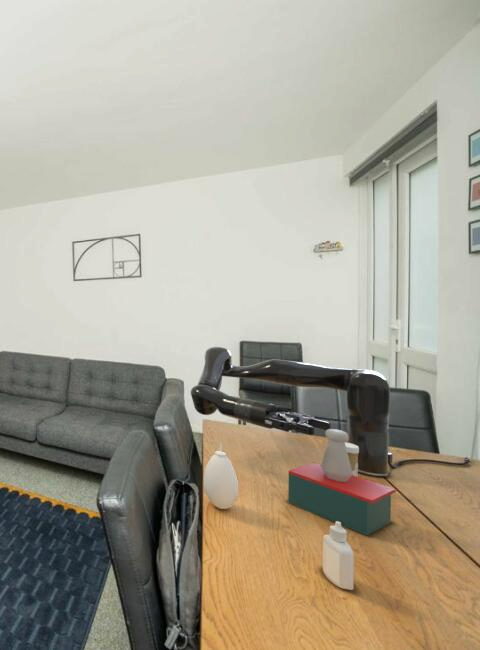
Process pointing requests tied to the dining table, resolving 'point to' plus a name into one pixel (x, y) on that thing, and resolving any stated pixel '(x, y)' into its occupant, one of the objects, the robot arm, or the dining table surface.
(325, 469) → the salt shaker
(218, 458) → the sauce bottle
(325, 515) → the lunchbox
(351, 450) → the sprinkles bottle
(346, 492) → the lid
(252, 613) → the dining table surface
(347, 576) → the eye dropper bottle
